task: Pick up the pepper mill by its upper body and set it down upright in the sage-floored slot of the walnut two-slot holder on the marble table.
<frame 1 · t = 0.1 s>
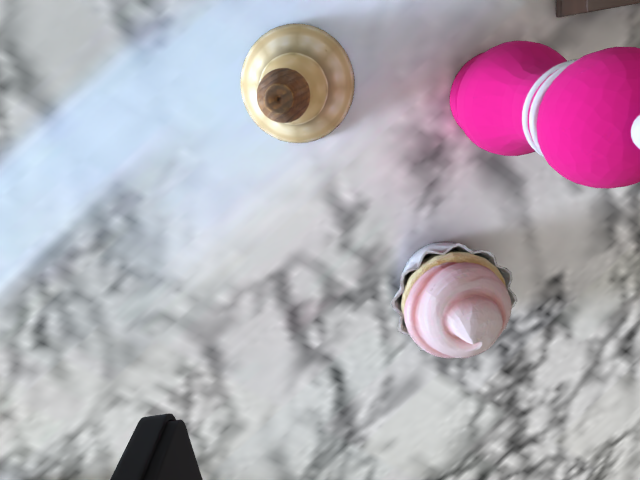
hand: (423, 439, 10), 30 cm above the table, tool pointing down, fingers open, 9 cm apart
hand bell: (297, 85, 37), on the table
pepper mill: (490, 95, 37), on the table
cupcake: (438, 275, 42), on the table
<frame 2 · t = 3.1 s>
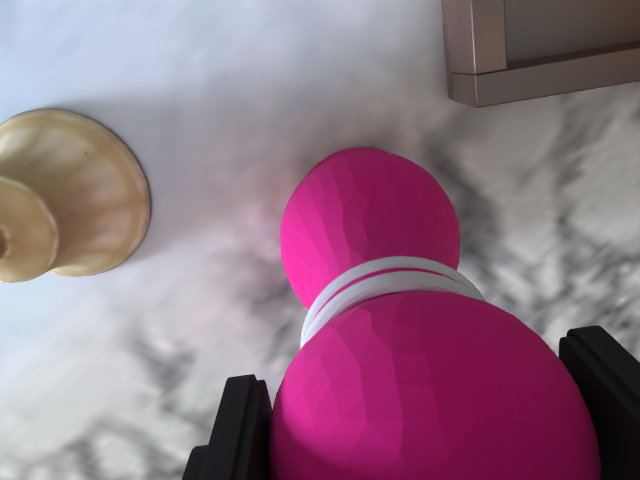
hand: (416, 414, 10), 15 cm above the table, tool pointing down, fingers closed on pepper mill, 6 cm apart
hand bell: (67, 195, 24), on the table
pepper mill: (359, 209, 25), on the table, touching gripper
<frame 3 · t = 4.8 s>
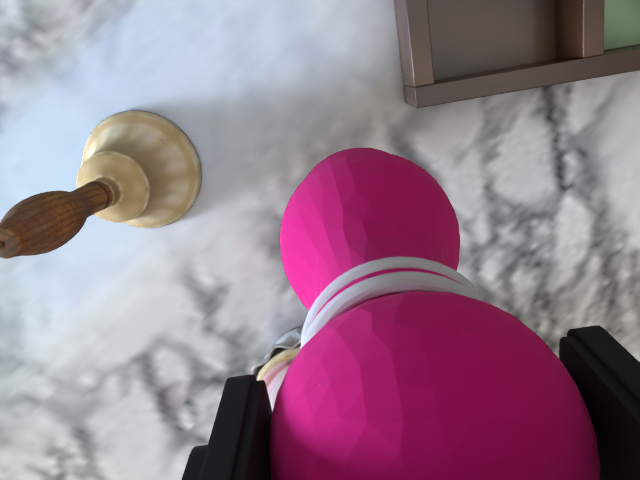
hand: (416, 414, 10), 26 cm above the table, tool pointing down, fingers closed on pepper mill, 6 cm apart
hand bell: (143, 170, 35), on the table
pepper mill: (359, 209, 25), point 11 cm above the table, touching gripper
cupcake: (310, 358, 40), on the table
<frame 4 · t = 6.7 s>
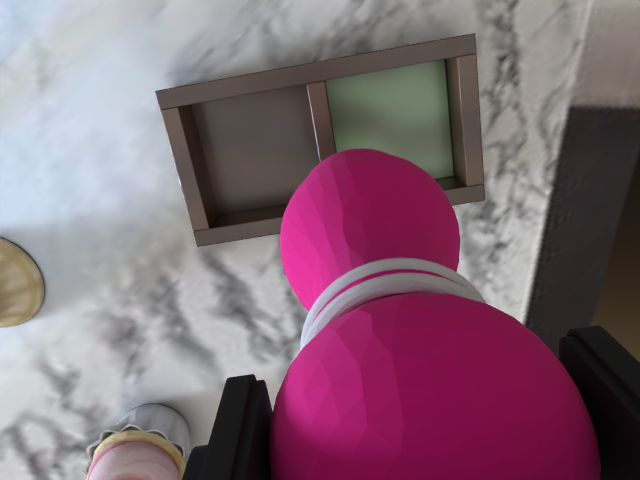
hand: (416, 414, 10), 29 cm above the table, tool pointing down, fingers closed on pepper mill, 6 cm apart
pepper mill: (359, 209, 25), point 14 cm above the table, touching gripper
cupcake: (157, 429, 47), on the table
holder: (325, 138, 37), on the table
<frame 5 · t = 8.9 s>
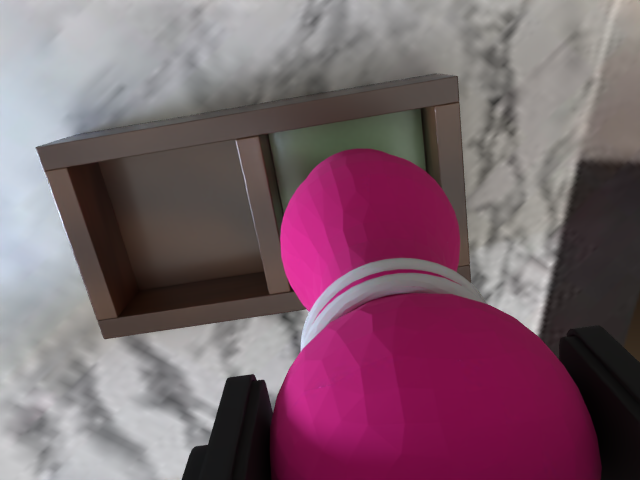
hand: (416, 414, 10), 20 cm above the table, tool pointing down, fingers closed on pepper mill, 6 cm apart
pepper mill: (359, 209, 25), point 5 cm above the table, touching gripper
holder: (271, 198, 30), on the table
when the fingers open (16 cm above the table, at t = 10.4 s): pepper mill stays where it is, resting on holder.
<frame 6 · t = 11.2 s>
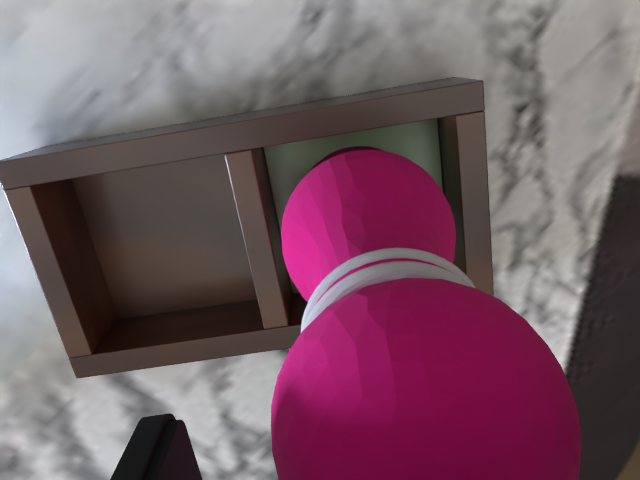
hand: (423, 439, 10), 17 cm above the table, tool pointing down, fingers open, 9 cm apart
pepper mill: (358, 206, 25), point 1 cm above the table, touching holder
holder: (267, 217, 26), on the table
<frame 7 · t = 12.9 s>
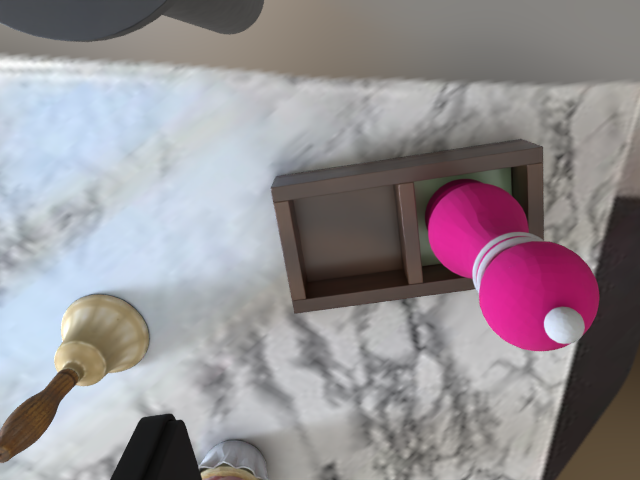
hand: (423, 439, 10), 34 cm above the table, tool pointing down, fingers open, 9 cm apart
hand bell: (106, 332, 48), on the table
pepper mill: (460, 213, 42), point 1 cm above the table, touching holder
cupcake: (236, 462, 52), on the table
holder: (403, 219, 43), on the table
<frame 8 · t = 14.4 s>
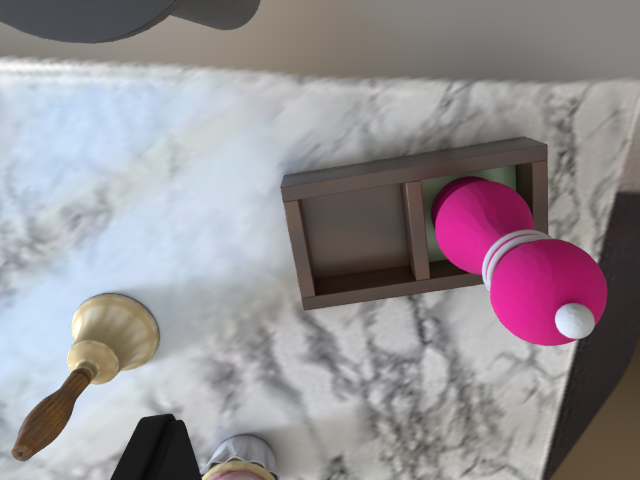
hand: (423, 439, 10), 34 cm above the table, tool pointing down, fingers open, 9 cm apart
hand bell: (117, 331, 48), on the table
pepper mill: (466, 210, 43), point 1 cm above the table, touching holder
cupcake: (245, 456, 53), on the table
holder: (409, 216, 44), on the table
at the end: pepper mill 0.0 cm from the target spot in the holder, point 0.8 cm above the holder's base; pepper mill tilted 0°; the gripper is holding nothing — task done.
